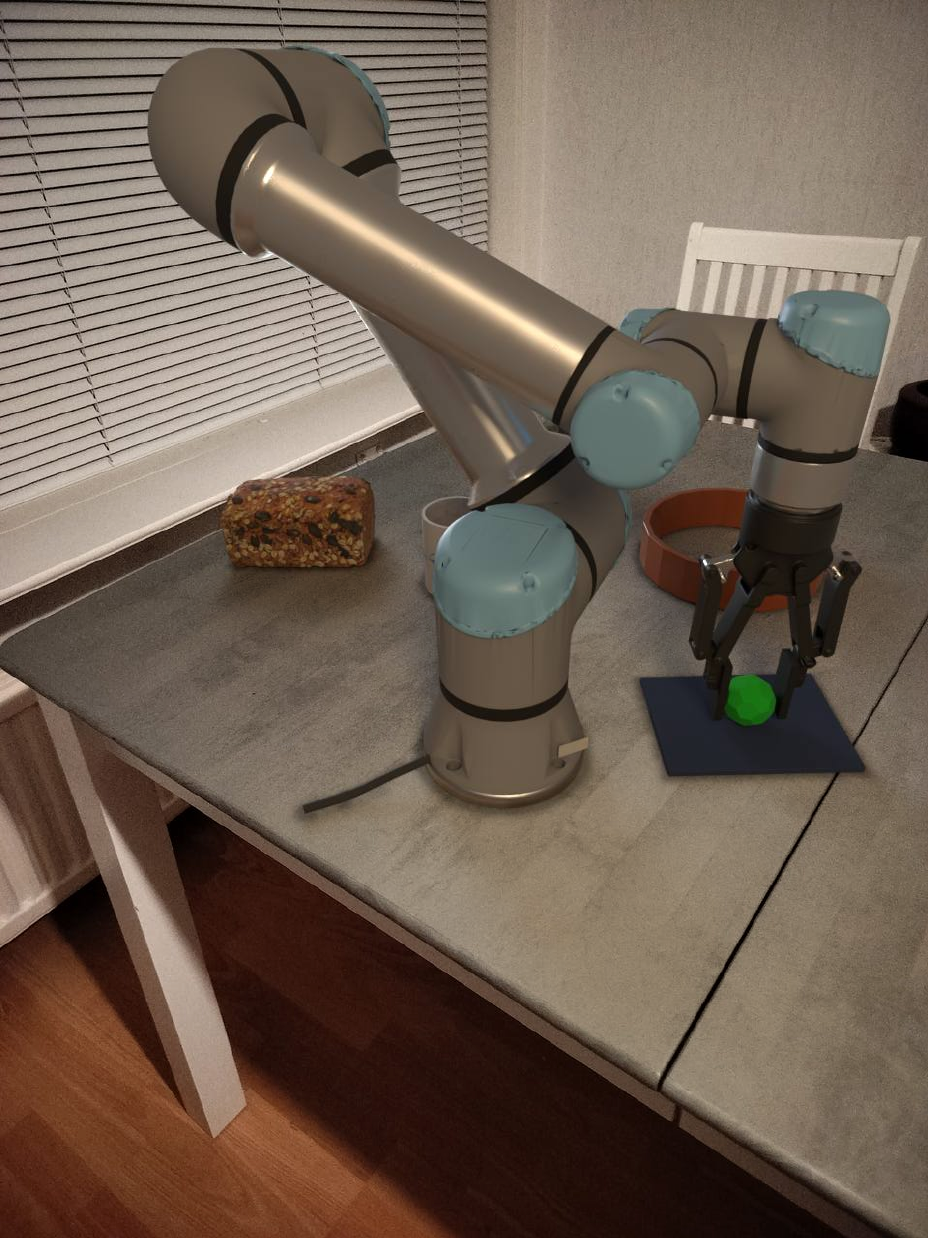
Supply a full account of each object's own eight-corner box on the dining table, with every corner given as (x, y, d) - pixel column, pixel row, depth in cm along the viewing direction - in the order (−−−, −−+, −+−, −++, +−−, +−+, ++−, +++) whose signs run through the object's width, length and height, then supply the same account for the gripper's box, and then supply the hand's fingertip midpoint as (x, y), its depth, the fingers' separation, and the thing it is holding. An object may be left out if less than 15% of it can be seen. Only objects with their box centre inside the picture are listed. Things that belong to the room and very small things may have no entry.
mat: (668, 776, 76) (669, 772, 75) (639, 681, 87) (640, 677, 87) (864, 772, 76) (866, 767, 75) (809, 677, 87) (811, 673, 87)
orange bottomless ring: (659, 614, 98) (664, 574, 95) (626, 525, 116) (630, 489, 113) (850, 609, 98) (861, 569, 95) (786, 521, 116) (794, 485, 113)
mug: (425, 566, 108) (421, 497, 102) (490, 564, 108) (490, 495, 103) (425, 619, 98) (421, 545, 92) (497, 616, 98) (497, 542, 92)
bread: (379, 533, 116) (373, 467, 110) (366, 572, 107) (358, 503, 101) (250, 531, 117) (237, 466, 112) (226, 569, 109) (211, 500, 103)
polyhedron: (734, 740, 79) (743, 701, 76) (708, 708, 82) (715, 670, 80) (780, 729, 80) (790, 691, 77) (752, 698, 84) (761, 661, 81)
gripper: (888, 472, 71) (826, 684, 84) (672, 477, 71) (644, 688, 84) (929, 512, 64) (855, 734, 77) (693, 517, 64) (659, 738, 77)
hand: (746, 710), depth 80 cm, fingers open, 5 cm apart
